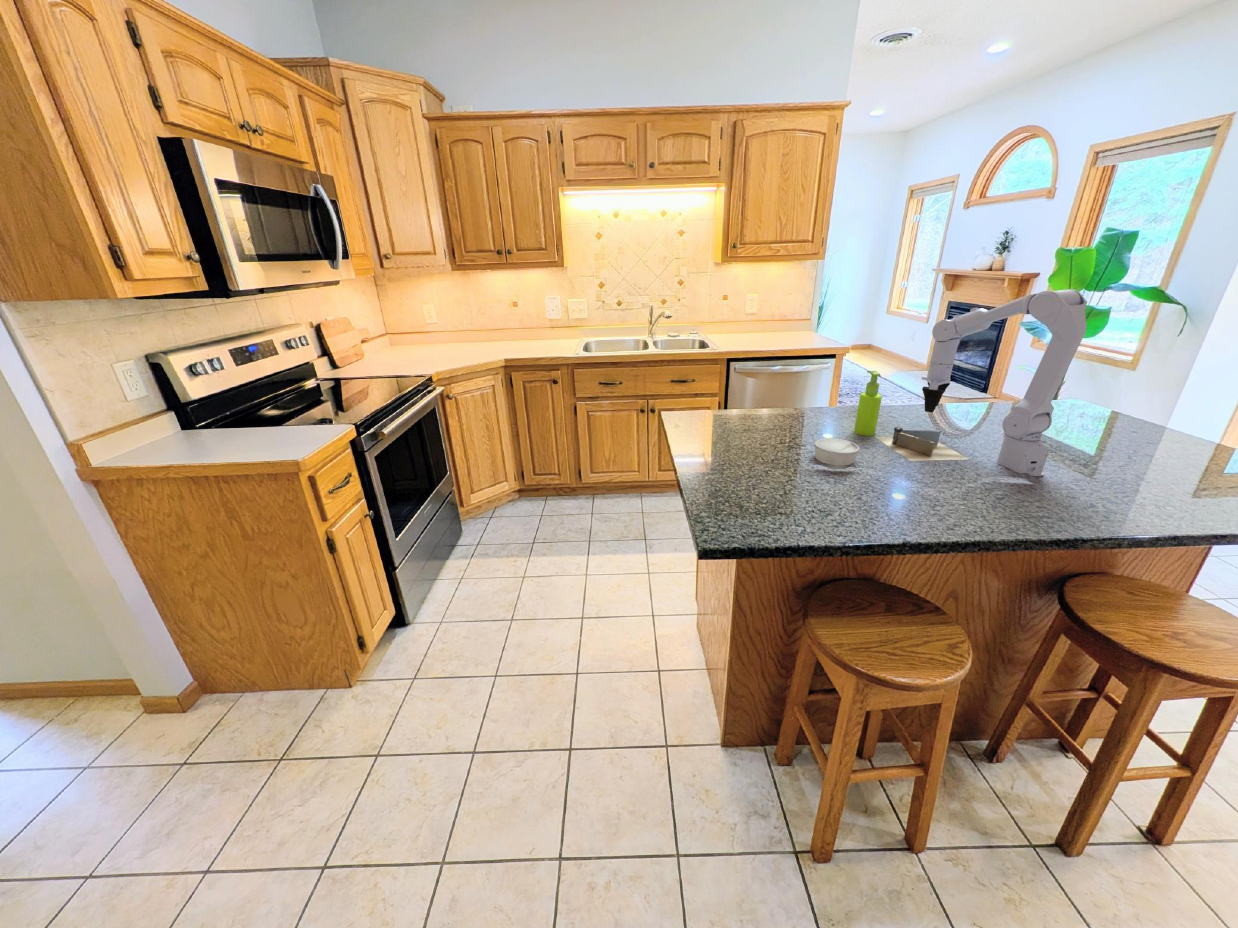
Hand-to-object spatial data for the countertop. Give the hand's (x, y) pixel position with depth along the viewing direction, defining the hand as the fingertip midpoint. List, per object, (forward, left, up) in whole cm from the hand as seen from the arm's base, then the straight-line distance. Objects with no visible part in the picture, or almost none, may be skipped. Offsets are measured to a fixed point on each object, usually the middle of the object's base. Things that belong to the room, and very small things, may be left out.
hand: (931, 408), depth 148 cm
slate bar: (-7, +6, -8) cm, 13 cm away
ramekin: (-16, +35, -10) cm, 40 cm away
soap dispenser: (+5, +17, -10) cm, 20 cm away
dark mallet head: (-11, +10, -8) cm, 17 cm away
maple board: (-10, +8, -10) cm, 16 cm away
